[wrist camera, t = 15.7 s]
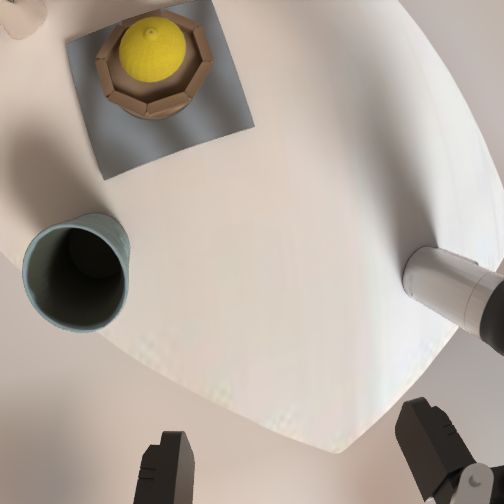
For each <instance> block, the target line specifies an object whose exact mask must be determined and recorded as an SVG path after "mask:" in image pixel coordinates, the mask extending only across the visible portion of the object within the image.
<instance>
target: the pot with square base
mask: <svg viewBox="0 0 504 504" xmlns="http://www.w3.org/2000/svg"><path fill="white" fill-rule="evenodd" d="M148 17H162V18H167V19H168V20H170V21H172V22H174V23H175V24H176V25H177V26H178V27H179V28H180V30H181V31H182V33H183V35H184V38H185V42H186V52H185V56H184V59H183V62H182V64H181V65H180V66H179V68H178V69H177V70H176V71H175V72H174V73H173V74H172V75H171V76H169V77H167V78H166V79H164V80H161V81H157V82H142V81H139V80H136V79H134V78H133V77H131V76H130V75H129V74H127V72H126V71H125V70H124V68H123V67H122V64H121V62H120V58H119V47H120V43H121V40H122V38H123V36H124V34H125V32H126V31H127V30H128V29H129V28H130V27H131V26H132V25H133V24H134V23H136V22H137V21H139V20H142V19H144V18H148ZM66 48H67V52H68V57H69V61H70V66H71V70H72V74H73V78H74V82H75V86H76V90H77V94H78V98H79V101H80V105H81V109H82V112H83V116H84V119H85V123H86V126H87V129H88V133H89V136H90V139H91V142H92V146H93V149H94V152H95V155H96V158H97V161H98V164H99V167H100V170H101V173H102V176H103V179H104V180H107V179H110V178H112V177H114V176H117V175H119V174H121V173H124V172H126V171H129V170H131V169H134V168H136V167H139V166H141V165H144V164H146V163H149V162H151V161H154V160H157V159H159V158H162V157H165V156H167V155H170V154H173V153H175V152H178V151H181V150H184V149H187V148H190V147H193V146H195V145H198V144H201V143H204V142H207V141H210V140H213V139H217V138H220V137H223V136H226V135H229V134H233V133H236V132H239V131H243V130H246V129H249V128H252V127H255V125H254V122H253V119H252V116H251V113H250V110H249V107H248V104H247V101H246V98H245V95H244V92H243V89H242V86H241V83H240V80H239V77H238V74H237V71H236V68H235V65H234V62H233V59H232V56H231V53H230V51H229V48H228V45H227V42H226V39H225V36H224V34H223V31H222V28H221V25H220V22H219V20H218V17H217V14H216V11H215V9H214V6H213V3H212V1H211V0H196V1H192V2H187V3H183V4H179V5H175V6H171V7H167V8H164V9H158V10H155V11H151V12H148V13H145V14H141V15H138V16H135V17H132V18H129V19H126V20H123V21H121V22H119V23H116V24H114V25H111V26H108V27H106V28H103V29H101V30H98V31H96V32H93V33H91V34H88V35H86V36H84V37H81V38H79V39H77V40H75V41H72V42H70V43H68V44H66Z"/></svg>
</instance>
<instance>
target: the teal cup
mask: <svg viewBox="0 0 504 504" xmlns="http://www.w3.org/2000/svg"><path fill="white" fill-rule="evenodd" d="M129 257H130V243H129V239H128V236H127V234H126V232H125V230H124V228H123V227H122V226H121V225H120V224H119V223H118V222H117V221H116V220H115V219H113V218H111V217H110V216H107V215H104V214H100V213H91V214H86V215H83V216H80V217H78V218H76V219H74V220H69V221H66V222H63V223H59V224H56V225H53V226H51V227H48V228H46V229H45V230H43V231H42V232H40V233H39V234H38V235H37V236H36V237H35V238H34V239H33V240H32V241H31V243H30V244H29V246H28V248H27V250H26V253H25V256H24V260H23V268H22V277H23V282H24V287H25V291H26V293H27V296H28V298H29V299H30V302H31V304H32V305H33V306H34V308H35V309H36V310H37V312H38V313H39V314H40V315H41V316H42V317H43V318H44V319H45V320H47V321H48V322H50V323H51V324H53V325H54V326H56V327H58V328H61V329H63V330H67V331H71V332H76V333H89V332H94V331H97V330H99V329H102V328H104V327H105V326H107V325H109V324H110V323H111V322H112V321H113V320H114V319H115V318H116V317H117V316H118V315H119V313H120V312H121V310H122V309H123V307H124V304H125V302H126V299H127V295H128V285H129Z"/></svg>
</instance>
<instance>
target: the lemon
mask: <svg viewBox="0 0 504 504" xmlns="http://www.w3.org/2000/svg"><path fill="white" fill-rule="evenodd" d="M185 52H186V42H185V38H184V35H183V33H182V31H181V30H180V28H179V27H178V26H177V25H176V24H175V23H174V22H172V21H170V20H168V19H167V18H162V17H148V18H144V19H142V20H139V21H137V22H136V23H134V24H133V25H132V26H131V27H130V28H129V29H128V30H127V31H126V32H125V34H124V36H123V38H122V40H121V43H120V47H119V58H120V62H121V64H122V67H123V68H124V70H125V71H126V72H127V74H129V75H130V76H131V77H133V78H134V79H136V80H139V81H142V82H157V81H161V80H164V79H166V78H167V77H169V76H171V75H172V74H173V73H174V72H175V71H176V70H177V69H178V68H179V66H180V65H181V64H182V62H183V59H184V56H185Z"/></svg>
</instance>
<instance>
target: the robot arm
mask: <svg viewBox="0 0 504 504" xmlns="http://www.w3.org/2000/svg"><path fill="white" fill-rule="evenodd" d="M403 286H404V290H405V292H406V293H407V295H408V296H410V297H411V298H413V299H415V300H416V301H418V302H420V303H421V304H423V305H424V306H426V307H428V308H430V309H431V310H433V311H435V312H436V313H438V314H440V315H441V316H443V317H444V318H446V319H448V320H449V321H451V322H453V323H454V324H456V325H458V326H459V327H461V328H463V329H464V330H466V331H468V332H470V333H471V334H472V335H474V336H476V337H477V338H479V339H481V340H482V341H484V342H485V343H487V344H489V345H490V346H491V347H492V348H493V349H494V350H495V351H497V352H498V353H500V354H501V355H502V356H504V276H502V275H499V274H498V273H495V272H493V271H490V270H488V269H485V268H483V267H480V266H479V265H478V263H477V262H476V261H473V260H471V259H468V258H465V257H463V256H460V255H458V254H455V253H452V252H450V251H447V250H444V249H442V248H439V247H438V248H436V249H435V248H432V247H422V248H420V249H419V250H417V251H416V252H415V253H414V254H413V255H412V256H411V258H410V259H409V261H408V263H407V265H406V267H405V271H404V276H403ZM395 435H396V439H397V441H398V443H399V445H400V447H401V450H402V452H403V454H404V456H405V458H406V461H407V463H408V465H409V467H410V469H411V472H412V474H413V477H414V479H415V481H416V483H417V486H418V488H419V490H420V492H421V495H422V497H423V500H424V502H427V501H429V500H432V499H434V500H435V502H436V504H504V465H503V466H498V467H492V468H489V467H488V466H486V465H484V464H481V463H477V462H476V461H475V460H474V459H473V457H472V455H471V453H470V452H469V450H468V448H467V447H466V445H465V443H464V442H463V440H462V438H461V437H460V435H459V433H457V430H456V429H455V427H454V425H452V422H451V420H450V419H449V417H448V416H447V414H446V413H445V412H444V411H442V410H441V409H440V408H438V407H437V406H434V407H431V406H430V405H429V403H428V402H427V400H426V399H425V398H424V397H420V398H416V399H413V400H409V401H406V402H404V403H403V406H402V409H401V412H400V414H399V417H398V420H397V423H396V426H395ZM194 469H195V461H194V455H193V451H192V449H191V446H190V444H189V441H188V439H187V436H186V434H185V432H184V431H164V432H163V433H162V436H161V442H160V445H150V446H149V447H148V449H147V450H146V451H145V453H144V454H143V456H142V461H141V466H140V471H139V476H138V478H139V479H138V481H137V486H136V492H135V497H134V503H133V504H192V500H193V485H194Z"/></svg>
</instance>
